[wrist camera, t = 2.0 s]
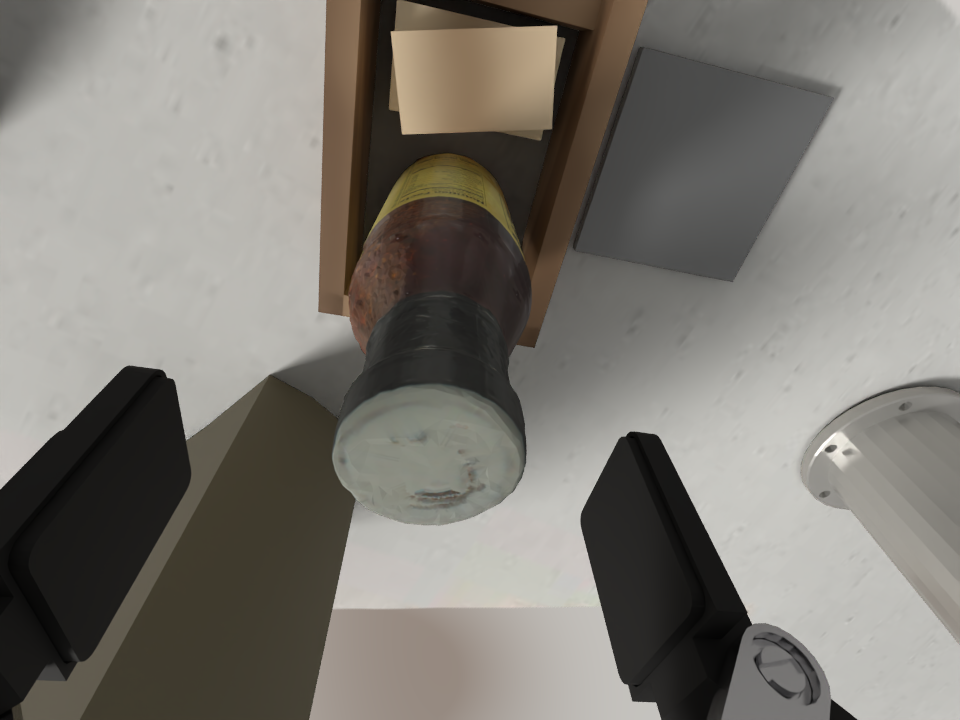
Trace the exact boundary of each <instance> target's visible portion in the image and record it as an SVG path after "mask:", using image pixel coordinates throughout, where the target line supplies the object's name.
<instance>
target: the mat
mask: <svg viewBox="0 0 960 720" xmlns="http://www.w3.org/2000/svg"><path fill="white" fill-rule="evenodd" d="M833 99H834V98H833V97H829V96H825V95H822V94H818V93H814V92H810V91H807V90H803V89H799V88H795V87H792V86H788V85H784V84H780V83H777V82H773V81H769V80H765V79H761V78H758V77H754V76H750V75H746V74H743V73H739V72H735V71H731V70H728V69H724V68H720V67H716V66H713V65H709V64H705V63H701V62H698V61H694V60H690V59H686V58H683V57H679V56H675V55H671V54H668V53H664V52H660V51H656V50H653V49H649V48H645V47H640V48H639V51H638V54H637V57H636V60H635V63H634V66H633V69H632V72H631V75H630V78H629V81H628V84H627V87H626V90H625V93H624V96H623V99H622V102H621V105H620V108H619V111H618V114H617V117H616V120H615V123H614V126H613V129H612V132H611V135H610V138H609V141H608V144H607V147H606V150H605V153H604V156H603V159H602V162H601V165H600V168H599V171H598V174H597V177H596V180H595V183H594V186H593V189H592V192H591V195H590V198H589V201H588V204H587V207H586V210H585V213H584V216H583V219H582V222H581V225H580V228H579V231H578V234H577V237H576V240H575V243H574V246H573V248H574V250H575V251H578V252H583V253H589V254H594V255H599V256H604V257H609V258H614V259H619V260H624V261H629V262H634V263H639V264H644V265H649V266H654V267H659V268H664V269H669V270H674V271H679V272H684V273H689V274H695V275H700V276H705V277H710V278H715V279H720V280H725V281H730V282H733V280H734V278H735V277H736V275H737V273H738V271H739V269H740V268H741V266H742V264H743V262H744V260H745V258H746V257H747V255H748V253H749V251H750V249H751V248H752V246H753V244H754V242H755V240H756V239H757V237H758V235H759V233H760V231H761V229H762V228H763V226H764V224H765V222H766V220H767V219H768V217H769V215H770V213H771V211H772V210H773V208H774V206H775V204H776V202H777V200H778V199H779V197H780V195H781V193H782V191H783V190H784V188H785V186H786V184H787V182H788V181H789V179H790V177H791V175H792V173H793V171H794V170H795V168H796V166H797V164H798V162H799V161H800V159H801V157H802V155H803V153H804V152H805V150H806V148H807V146H808V144H809V142H810V141H811V139H812V137H813V135H814V133H815V132H816V130H817V128H818V126H819V124H820V123H821V121H822V119H823V117H824V115H825V113H826V112H827V110H828V108H829V106H830V104H831V103H832V101H833Z"/></svg>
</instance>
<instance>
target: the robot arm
mask: <svg viewBox="0 0 960 720" xmlns="http://www.w3.org/2000/svg"><path fill="white" fill-rule="evenodd" d="M801 477H802V481H803V483H804V484H805V486H806V488H807V489H808V490H809V492H810V493H811V494H812V495H813V497H814V498H815V499H816V500H818V501H820V502H821V503H823V504H825V505H828V506H831V507H834V508H840V509H847V510H851V512H852V513H853V514H854V515H855V516H856V518H857V519H858V520H859V521H860V523H861V524H862V525H863V526H864V528H865V529H866V530H867V531H868V533H869V534H870V535H871V536H872V537H873V539H874V540H875V541H876V542H877V544H878V545H879V546H880V547H881V549H882V550H883V551H884V552H885V554H886V555H887V556H888V557H889V559H890V560H891V561H892V562H893V563H894V565H895V566H896V567H897V568H898V570H899V571H900V572H901V573H902V575H903V576H904V577H905V578H906V580H907V581H908V582H909V583H910V584H911V586H912V587H913V588H914V589H915V591H916V592H917V593H918V594H919V596H920V597H921V598H922V599H923V601H924V602H925V603H926V604H927V605H928V607H929V608H930V609H931V610H932V612H933V613H934V614H935V615H936V617H937V618H938V619H939V620H940V622H941V623H942V624H943V625H944V626H945V628H946V629H947V630H948V631H949V633H950V634H951V635H952V636H953V638H954V639H955V640H956V641H957V643H958V644H959V645H960V393H958V392H955V391H953V390H951V389H946V388H940V387H915V388H908V389H901V390H897V391H893V392H890V393H886V394H883V395H880V396H877V397H875V398H872V399H870V400H867V401H865V402H863V403H861V404H859V405H857V406H855V407H854V408H852V409H850V410H848V411H847V412H845V413H844V414H842V415H841V416H839V417H838V418H836V419H835V420H834V421H832V422H831V423H830V424H829V425H828V426H827V427H825V428H824V429H823V430H822V431H821V432H820V433H819V434H818V436H817V437H816V438H815V439H814V440H813V441H812V443H811V444H810V446H809V448H808V449H807V451H806V453H805V455H804V458H803V461H802V463H801ZM190 480H191V466H190V461H189V455H188V450H187V444H186V439H185V434H184V428H183V423H182V417H181V412H180V407H179V401H178V396H177V390H176V385H175V382H174V380H173V379H170V378H167V377H166V374H165V372H164V371H163V370H159V369H152V368H144V367H136V366H126V367H125V368H123V369H122V370H121V371H120V372H119V373H118V374H117V375H116V376H115V377H114V378H113V379H112V380H111V381H110V382H109V383H108V384H107V385H106V386H105V388H104V389H103V390H102V391H101V392H100V393H99V394H98V395H97V396H96V397H95V398H94V399H93V400H92V401H91V402H90V403H89V404H88V405H87V406H86V407H85V408H84V409H83V410H82V411H81V412H80V413H79V414H78V416H77V417H76V418H75V419H74V420H73V421H72V422H71V423H70V424H69V425H68V426H67V427H66V428H65V429H64V430H62V431H59V432H58V433H56V434H55V435H54V436H53V437H52V438H50V439H49V440H48V441H47V442H46V443H45V444H44V446H43V447H42V448H41V449H40V450H39V451H38V452H37V453H36V454H35V455H34V456H33V457H32V458H31V459H30V460H29V461H28V462H27V463H26V464H25V465H24V466H23V467H22V468H21V469H20V470H19V471H18V472H17V473H16V474H15V475H14V476H13V477H12V478H11V479H10V480H9V481H8V482H7V483H6V484H5V485H4V486H3V487H2V489H1V490H0V720H23V716H22V710H21V704H20V703H21V702H23V701H24V699H25V697H26V696H27V694H28V693H29V691H30V690H31V688H32V686H33V685H34V683H35V682H36V680H43V681H67V679H68V678H69V676H70V674H71V673H72V671H73V669H74V668H75V666H76V664H77V663H78V662H84V661H86V660H87V659H88V658H89V657H90V656H91V655H92V654H93V652H94V651H95V649H96V648H97V646H98V644H99V642H100V641H101V639H102V637H103V635H104V634H105V632H106V630H107V628H108V627H109V625H110V623H111V621H112V620H113V618H114V616H115V614H116V613H117V611H118V609H119V607H120V606H121V604H122V602H123V601H124V599H125V597H126V595H127V594H128V592H129V590H130V588H131V587H132V585H133V583H134V581H135V580H136V578H137V576H138V574H139V573H140V571H141V569H142V567H143V566H144V564H145V562H146V560H147V559H148V557H149V555H150V553H151V552H152V550H153V548H154V546H155V545H156V543H157V541H158V540H159V538H160V536H161V534H162V533H163V531H164V529H165V527H166V526H167V524H168V522H169V520H170V519H171V517H172V515H173V513H174V512H175V510H176V508H177V506H178V505H179V503H180V501H181V499H182V498H183V496H184V494H185V492H186V491H187V489H188V487H189V484H190ZM581 528H582V532H583V536H584V540H585V544H586V548H587V552H588V556H589V560H590V564H591V567H592V571H593V575H594V579H595V583H596V587H597V591H598V595H599V599H600V603H601V607H602V610H603V614H604V618H605V622H606V626H607V630H608V634H609V638H610V641H611V646H612V649H613V653H614V657H615V661H616V665H617V669H618V673H619V676H620V678H621V680H622V682H623V683H624V684H628V686H629V689H630V693H631V697H632V701H636V702H656V703H657V706H658V710H659V713H660V716H661V720H857V719H856V718H855V717H853V716H852V715H851V714H850V713H848V712H847V711H846V710H844V709H843V708H842V707H841V706H839V705H838V704H837V703H836V702H834V701H833V700H832V699H831V695H830V686H829V684H828V681H827V679H826V676H825V674H824V671H823V670H822V668H821V667H820V665H819V664H818V662H817V660H816V659H815V657H814V656H813V655H812V654H811V653H810V652H809V651H808V650H807V648H806V647H805V646H804V645H803V644H802V643H801V642H799V641H798V640H797V639H796V638H794V637H793V636H792V635H791V634H789V633H787V632H785V631H784V630H782V629H780V628H778V627H776V626H772V625H769V624H766V623H761V624H753V625H752V623H751V621H750V619H749V617H748V615H747V611H746V609H745V607H744V605H743V603H742V601H741V599H740V597H739V595H738V593H737V591H736V589H735V587H734V585H733V583H732V581H731V579H730V577H729V575H728V573H727V571H726V569H725V567H724V565H723V563H722V561H721V559H720V557H719V555H718V553H717V551H716V549H715V547H714V545H713V543H712V541H711V539H710V537H709V535H708V533H707V531H706V529H705V527H704V525H703V523H702V521H701V519H700V517H699V515H698V513H697V511H696V509H695V507H694V505H693V503H692V501H691V499H690V497H689V495H688V493H687V491H686V489H685V487H684V485H683V483H682V481H681V479H680V477H679V475H678V473H677V471H676V469H675V467H674V465H673V463H672V461H671V459H670V457H669V455H668V453H667V451H666V449H665V447H664V445H663V443H662V441H661V440H660V438H659V437H658V436H657V435H655V434H648V433H641V432H629V433H628V434H627V436H626V437H621V438H620V439H619V440H618V442H617V444H616V446H615V448H614V450H613V452H612V454H611V456H610V458H609V460H608V461H607V463H606V465H605V467H604V469H603V471H602V473H601V475H600V477H599V479H598V481H597V483H596V485H595V487H594V489H593V491H592V493H591V494H590V496H589V498H588V500H587V502H586V504H585V506H584V508H583V510H582V513H581Z"/></svg>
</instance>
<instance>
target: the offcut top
mask: <svg viewBox="0 0 960 720" xmlns="http://www.w3.org/2000/svg"><path fill="white" fill-rule="evenodd" d="M391 39H392V48H393V57H394V66H395V75H396V84H397V93H398V102H399V111H400V120H401V129H402V134H430V133H458V132H486V131H514V130H543V129H552V117H553V98H554V79H555V60H556V41H557V26H532V27H503V28H473V29H444V30H414V31H391Z"/></svg>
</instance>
